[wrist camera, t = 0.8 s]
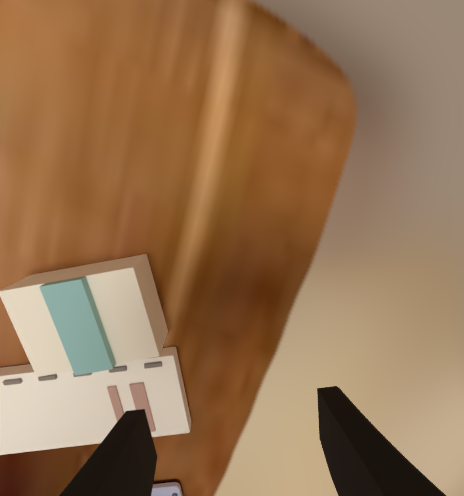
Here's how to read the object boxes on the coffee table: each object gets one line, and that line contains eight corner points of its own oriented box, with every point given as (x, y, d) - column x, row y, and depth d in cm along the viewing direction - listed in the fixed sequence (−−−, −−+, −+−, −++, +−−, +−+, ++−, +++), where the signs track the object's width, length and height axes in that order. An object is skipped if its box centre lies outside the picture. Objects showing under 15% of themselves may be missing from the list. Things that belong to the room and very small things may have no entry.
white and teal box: (169, 329, 20) (157, 361, 16) (64, 347, 20) (31, 382, 17) (147, 252, 18) (130, 270, 15) (33, 273, 18) (-10, 295, 15)
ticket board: (191, 421, 22) (189, 435, 21) (-29, 447, 22) (-43, 462, 21) (175, 346, 20) (172, 357, 19) (-65, 375, 20) (-83, 387, 19)
